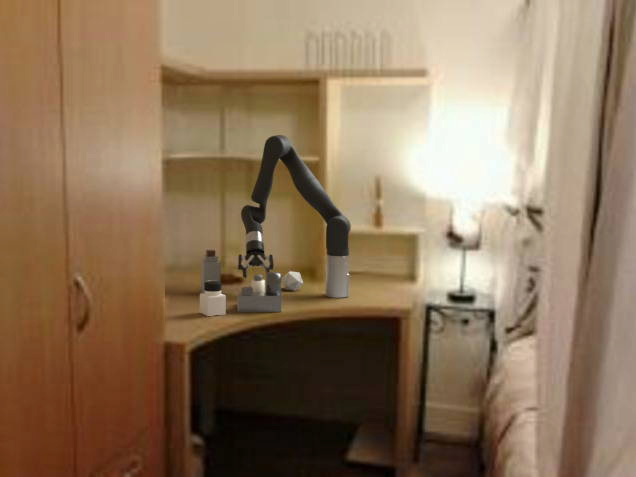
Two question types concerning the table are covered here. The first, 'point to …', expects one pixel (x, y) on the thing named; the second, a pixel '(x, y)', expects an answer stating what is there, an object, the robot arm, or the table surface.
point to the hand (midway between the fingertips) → (256, 277)
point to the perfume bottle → (210, 268)
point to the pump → (258, 284)
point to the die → (292, 281)
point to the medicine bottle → (212, 299)
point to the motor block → (262, 296)
